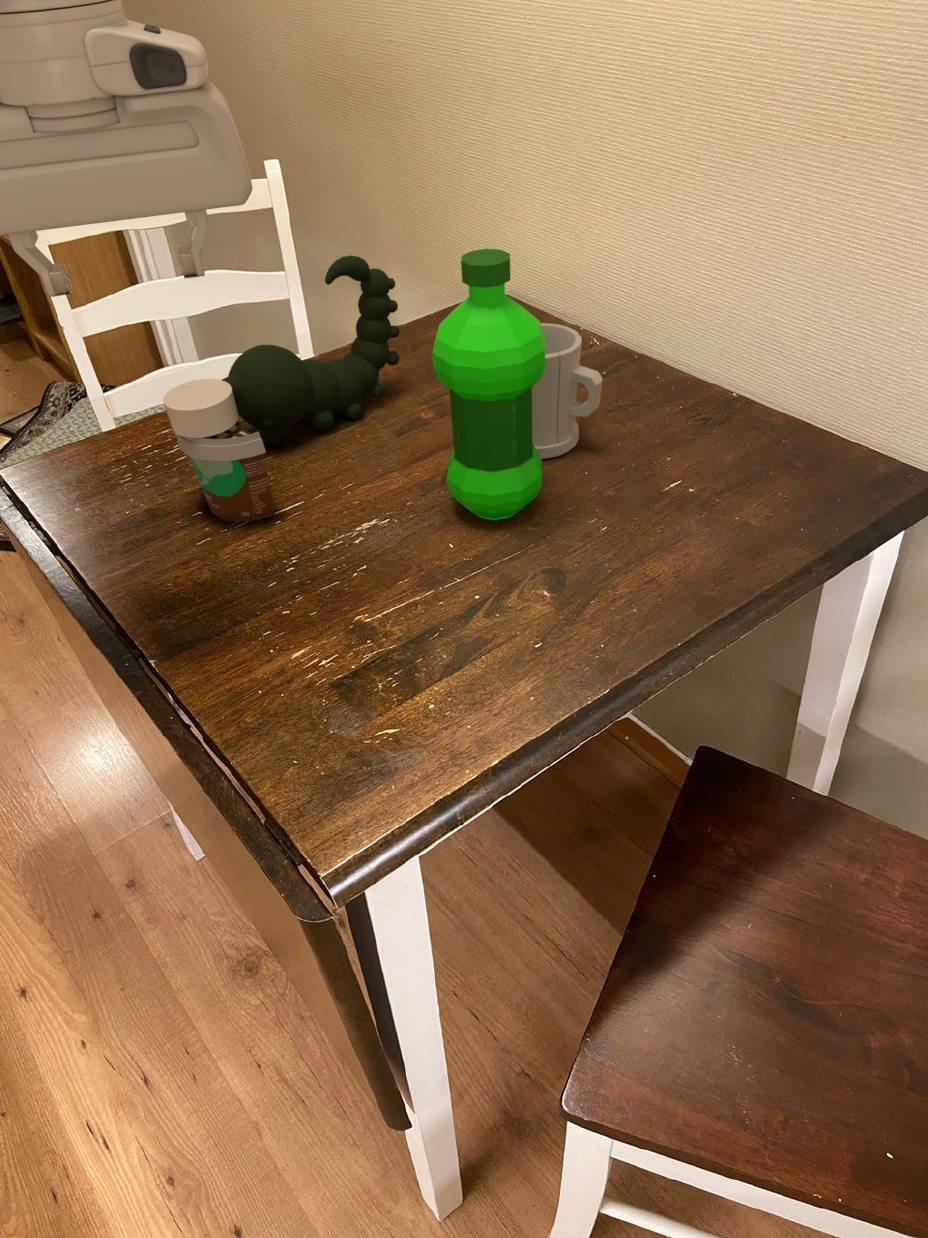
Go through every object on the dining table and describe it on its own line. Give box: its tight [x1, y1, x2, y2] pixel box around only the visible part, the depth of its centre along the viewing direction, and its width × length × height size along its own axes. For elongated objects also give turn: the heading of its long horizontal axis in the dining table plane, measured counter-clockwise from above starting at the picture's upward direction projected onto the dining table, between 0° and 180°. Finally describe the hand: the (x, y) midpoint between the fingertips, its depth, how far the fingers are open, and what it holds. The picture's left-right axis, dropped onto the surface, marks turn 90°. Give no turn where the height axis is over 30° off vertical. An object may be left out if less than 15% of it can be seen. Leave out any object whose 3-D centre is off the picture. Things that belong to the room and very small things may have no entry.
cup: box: [532, 322, 604, 460], centre depth 96 cm, size 10×9×12 cm
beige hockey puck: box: [162, 378, 240, 438], centre depth 86 cm, size 7×7×3 cm
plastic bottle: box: [431, 248, 545, 521], centre depth 83 cm, size 10×10×25 cm
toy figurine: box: [221, 255, 401, 446], centre depth 101 cm, size 9×19×25 cm
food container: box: [176, 420, 276, 522], centre depth 90 cm, size 12×6×10 cm, turn 37°
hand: (128, 284), depth 64 cm, fingers open, 8 cm apart
